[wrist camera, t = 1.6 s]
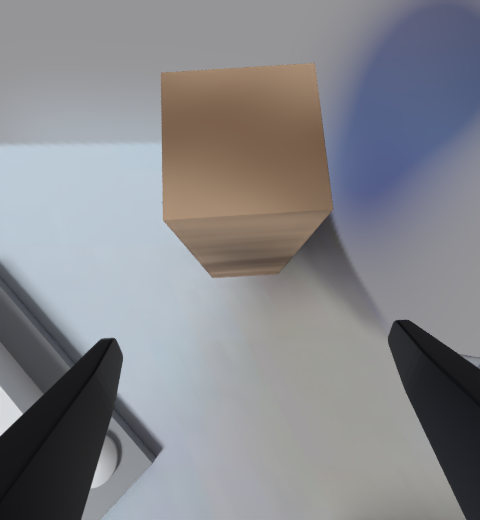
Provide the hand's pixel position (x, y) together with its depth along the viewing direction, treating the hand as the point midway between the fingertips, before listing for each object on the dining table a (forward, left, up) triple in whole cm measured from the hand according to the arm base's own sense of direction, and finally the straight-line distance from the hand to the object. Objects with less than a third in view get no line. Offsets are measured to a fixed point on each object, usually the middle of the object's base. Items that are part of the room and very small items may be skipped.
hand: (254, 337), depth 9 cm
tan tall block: (+6, -3, -12) cm, 14 cm away
